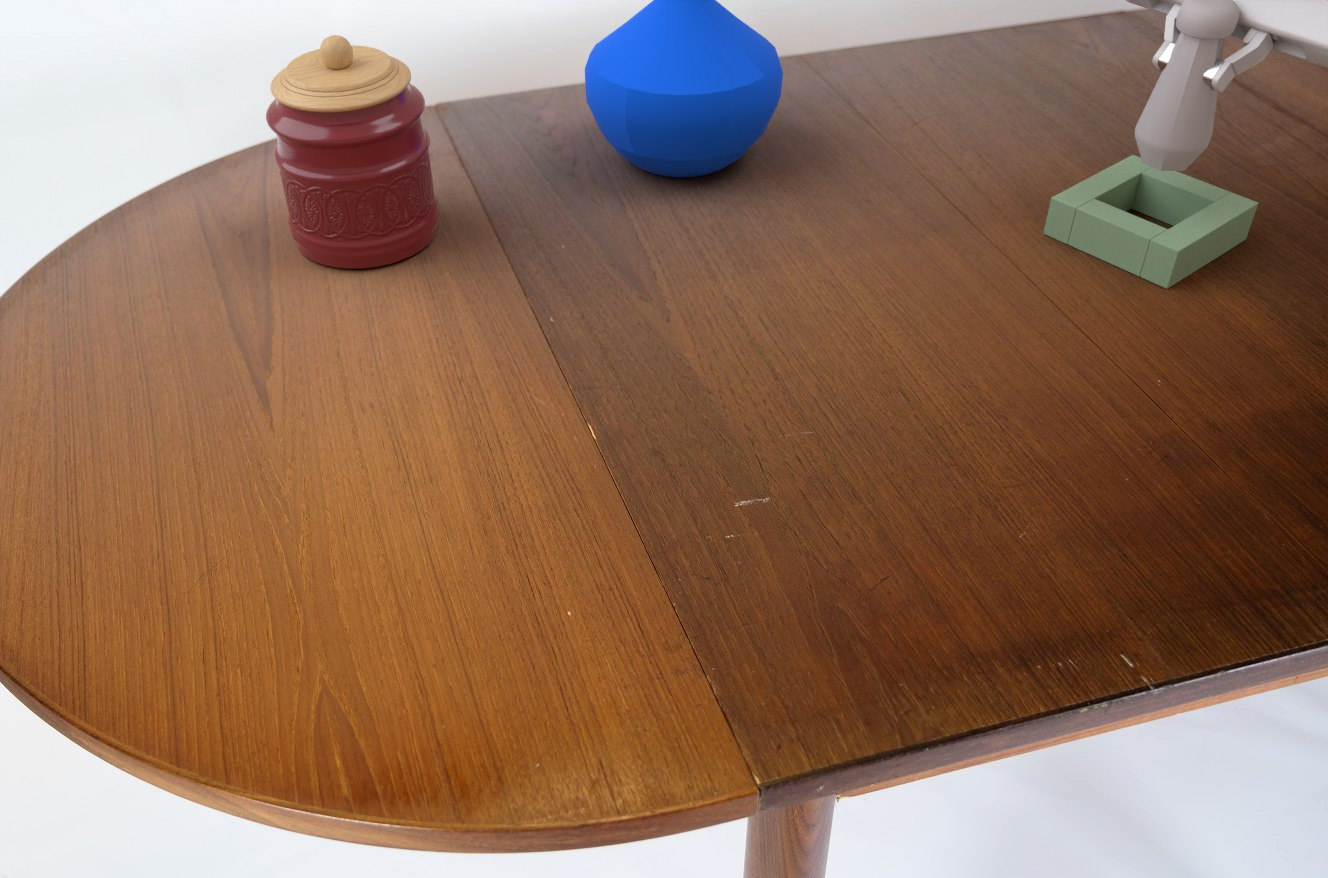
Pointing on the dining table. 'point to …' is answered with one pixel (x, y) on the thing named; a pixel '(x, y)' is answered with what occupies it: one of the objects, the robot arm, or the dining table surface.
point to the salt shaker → (1186, 88)
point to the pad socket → (1140, 246)
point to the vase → (683, 87)
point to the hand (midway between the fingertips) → (1185, 77)
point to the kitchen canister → (353, 156)
